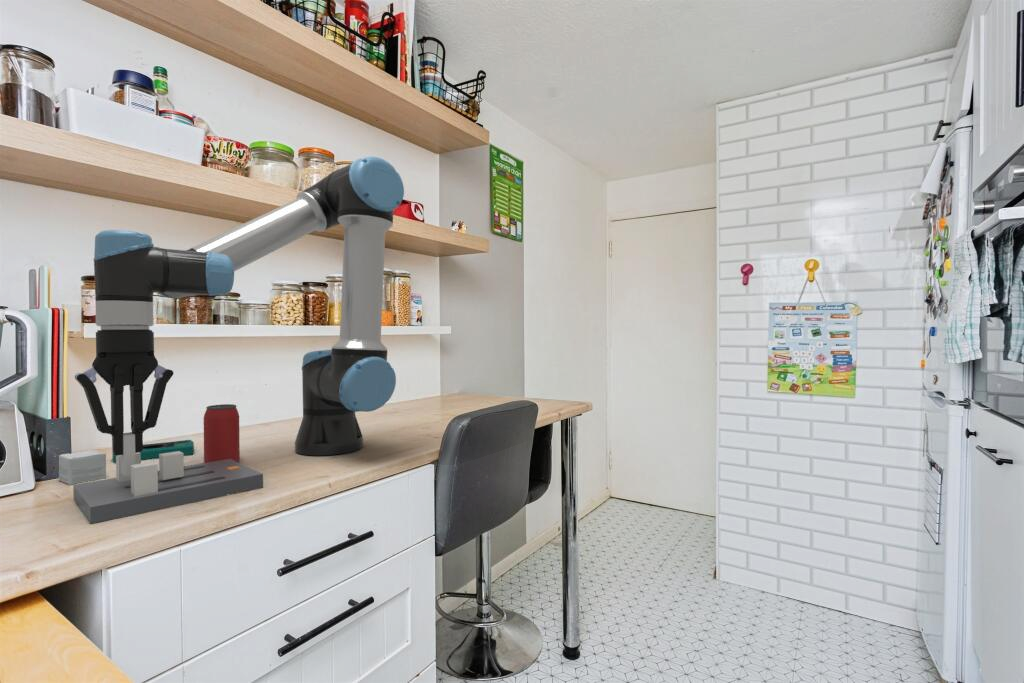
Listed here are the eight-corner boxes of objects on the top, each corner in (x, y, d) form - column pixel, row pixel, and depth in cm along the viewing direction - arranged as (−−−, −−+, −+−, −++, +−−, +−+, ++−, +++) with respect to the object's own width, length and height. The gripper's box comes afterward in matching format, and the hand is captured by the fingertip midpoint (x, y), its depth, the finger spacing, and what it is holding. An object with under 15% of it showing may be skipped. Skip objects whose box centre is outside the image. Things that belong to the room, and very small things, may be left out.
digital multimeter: (115, 458, 115) (114, 445, 115) (193, 450, 123) (193, 438, 123) (110, 466, 109) (110, 452, 109) (193, 457, 117) (193, 443, 117)
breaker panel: (230, 470, 103) (230, 436, 103) (263, 487, 92) (262, 449, 92) (73, 499, 86) (72, 458, 86) (90, 523, 75) (89, 476, 75)
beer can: (242, 463, 109) (242, 406, 109) (206, 468, 105) (206, 409, 105) (236, 457, 114) (235, 403, 114) (201, 462, 110) (200, 405, 110)
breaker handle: (179, 473, 91) (179, 450, 91) (183, 476, 89) (183, 453, 89) (159, 477, 89) (159, 453, 89) (163, 480, 87) (162, 456, 87)
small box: (107, 478, 98) (107, 452, 98) (69, 486, 94) (68, 458, 93) (95, 474, 101) (95, 448, 101) (57, 481, 97) (57, 454, 97)
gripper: (166, 328, 91) (168, 462, 92) (69, 328, 82) (72, 477, 82) (178, 328, 86) (181, 470, 87) (76, 328, 77) (80, 487, 77)
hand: (128, 473), depth 85 cm, fingers closed
